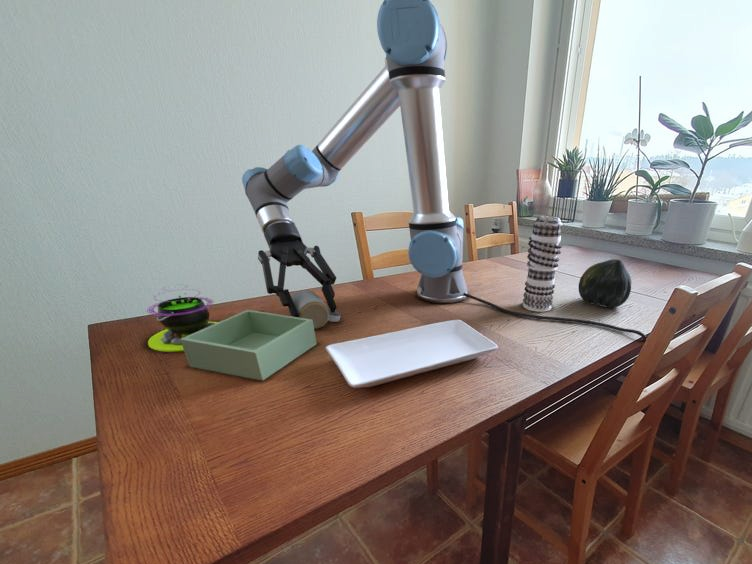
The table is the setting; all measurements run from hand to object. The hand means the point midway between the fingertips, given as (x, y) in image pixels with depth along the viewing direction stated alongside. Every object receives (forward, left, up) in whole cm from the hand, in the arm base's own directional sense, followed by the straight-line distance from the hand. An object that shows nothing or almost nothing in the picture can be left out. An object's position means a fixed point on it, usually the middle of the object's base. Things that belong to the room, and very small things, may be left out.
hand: (315, 313), depth 87 cm
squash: (-68, -45, -4) cm, 81 cm away
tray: (-28, +7, -4) cm, 29 cm away
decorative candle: (-49, -35, -4) cm, 60 cm away
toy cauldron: (+22, +13, -4) cm, 26 cm away
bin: (+3, +15, -4) cm, 16 cm away
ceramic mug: (+2, -3, -4) cm, 5 cm away
